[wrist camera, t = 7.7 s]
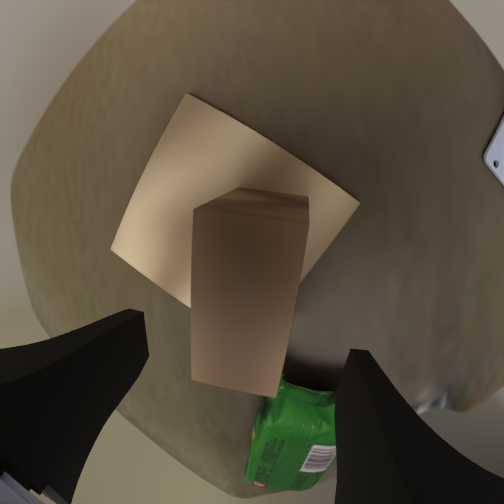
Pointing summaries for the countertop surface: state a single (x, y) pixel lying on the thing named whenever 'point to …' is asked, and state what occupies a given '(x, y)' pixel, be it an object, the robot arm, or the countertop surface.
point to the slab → (245, 286)
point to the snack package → (292, 439)
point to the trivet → (215, 192)
